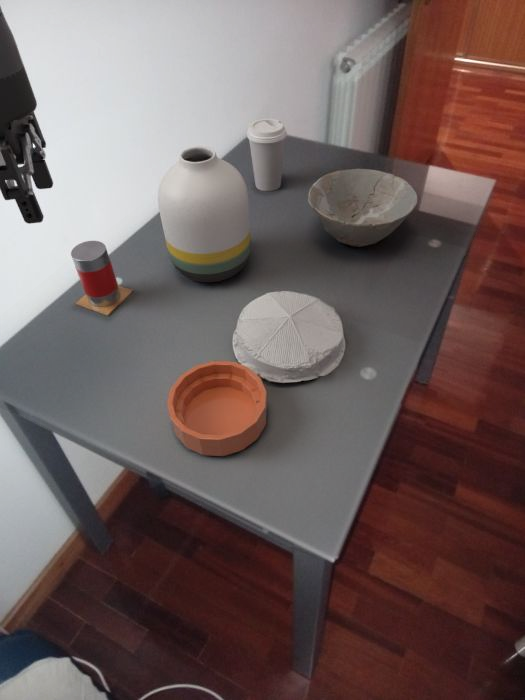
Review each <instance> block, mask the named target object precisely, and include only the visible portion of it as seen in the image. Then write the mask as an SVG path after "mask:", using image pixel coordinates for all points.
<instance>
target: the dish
mask: <svg viewBox="0 0 525 700" xmlns="http://www.w3.org/2000/svg"><path fill="white" fill-rule="evenodd" d="M267 395H268V393H267V389H266V387H265V384H264V382H263V379H262V377H260V376H259V374H258V375H257V374H256V373H254V372H253V371H252V370H251V369H250V368H249V367H247V366H244V365H241V363H239V362H236V361H233V360H232V361H231V360H230V361H229V360H212V361H208V362H205V363H201V364H197V365H195V366H193V367H192V368H190V369H188V370H187V371H185V372H184V373H182V374H181V375H180V376H179V377H178V379H177V380H176V381H175V382H174V384H173V385H172V386H171V388H170V390H169V394H168V398H167V401H166V402H167V403H166V405H167V409H168V413H169V417H170V422H171V424H172V428H173V431H174V435H175V437H176V438H177V439H178V441H180V442H181V443H182V444H183V446H184V447H185V448H186V449H188V450H191V451H193V452H195V453H197V454H200V455H201V456H214V457H225V456H228V455H233V454H234V453H238V452H242V451H243V450H245V449H246V448H247V447H248V446H250V445H252V444H253V443H254V442H256V440H258V439H259V437H260V436H261V433H262V432H263V430H264V428H265V426H266V425H267V419H268V417H267V416H268V396H267Z"/></svg>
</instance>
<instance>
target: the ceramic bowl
mask: <svg viewBox="0 0 525 700" xmlns="http://www.w3.org/2000/svg"><path fill="white" fill-rule="evenodd" d="M307 196H308V197H307V202H308V204H309V206H310V207H311V209H312V210H313V211H314V212H315V214H316V215H317V217H318V218H319V220H320V222H321V224H322V225H323V229H324V230H325V231H326V233H328V234H329V235H330V236H331V237H332V238H334V239H335V240H336V241H338V242H340V243H341V244H343V245H349V246H351V247H367V246H369V245H370V246H371V245H374V244H376V243H378V242H379V241H381V240H384V239H385V238H386V237H387V236H389V235H391V234H392V233H393V232H394V231H395V230H396V229H397V228H398V227H399V226H400V225H401V224H402V223H403V222H404V221H405V220H406V219H407V218H408V217H409V216H410V214H411V213H412V212H413V211H414V209H415V208H416V205H417V204H418V195H417V192H416V191H415V189H414V188H413V186H412V184H410V183H408V181H406V180H405V179H403V178H401V177H400V176H395V174H393V173H389V172H385V171H382V170H376V169H367V168H351V169H340V170H336V171H333V172H330V173H326V174H325V175H323V176H321V177H320V178H318V179H317V181H315V182H314V183H313V184H312V186H311V187H310V188H309V191H308V195H307Z"/></svg>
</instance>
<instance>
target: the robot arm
mask: <svg viewBox="0 0 525 700" xmlns="http://www.w3.org/2000/svg"><path fill="white" fill-rule="evenodd" d="M37 107H38V102H37V98H36V96H35V93H34V90H33V88H32V85H31V81H30V79H29V76H28V73H27V70H26V67H25V63H24V61H23V59H22V55H21V53H20V49H19V48H18V43H17V42H16V39H15V35H14V34H13V32H12V30H11V27H10V26H9V23H8V22H7V20H6V17H5V14H4V12H3V8H2V6H1V5H0V192H1V195H2V197H3V199H4V200H5V201H13V200H14V201H15V203H16V205H17V208H18V209H19V211H20V214H21V216H22V219H23V222H24V223H26V224H29V225H30V224H40V223H42V222H43V221H44V213H43V211H42V209H41V207H40V203H39V201H38V199H37V197H36V193H35V192H34V188H33V184H32V180H33V183H34V186H35V188H36V189H38V190H45V189H51V188H53V186H54V181H53V178H52V176H51V175H52V174H51V173H50V170H49V167H48V164H47V161H46V157H47V156H46V154H47V153H46V151H45V149H46V147H47V142H46V140H45V138H44V135H43V133H42V130H41V127H40V125H39V124H40V123H39V122H38V119H37V116H36V114H35V111H36V109H37ZM21 165H22V166H21ZM15 183H16V184H15Z"/></svg>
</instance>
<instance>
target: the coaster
mask: <svg viewBox="0 0 525 700" xmlns="http://www.w3.org/2000/svg"><path fill="white" fill-rule="evenodd" d="M118 287H119V291H120V298H119V299H118V300H117V301H116V302H115V303H114V304H112V305H109V306H106V307H95V306H93V305H91V304H90V303H89V301H88V298H87V295H86V293H85V294H84V295H83V296H82V297H81V298H79V299H78V300H77V301H76V302H75V306H78V307H80V308H83V309H86V310H89V311H92V312H95V313H97V314H100V315H104V316H106V317H109V316H111V314H112V313H113V312H114V311H116V309H117V308H119V306H120V305H121V304H123V303H124V302H125V301H126V300H127V299H128V298H129V296H131V295H132V294H133V293H134V289H130V288H127V287H125V286H122V285H120V284H118Z"/></svg>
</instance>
